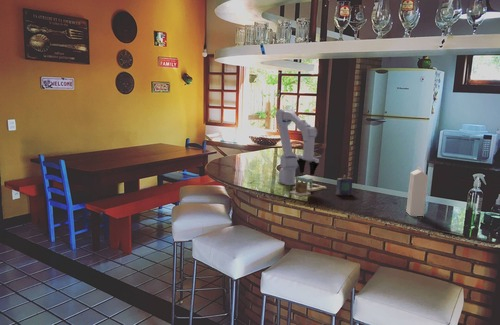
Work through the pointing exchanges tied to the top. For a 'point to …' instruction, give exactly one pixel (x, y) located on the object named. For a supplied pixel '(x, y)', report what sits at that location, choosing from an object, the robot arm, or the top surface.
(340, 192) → the flask
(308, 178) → the cover
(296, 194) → the pad
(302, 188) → the block
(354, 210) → the top surface
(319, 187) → the board
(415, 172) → the milk
